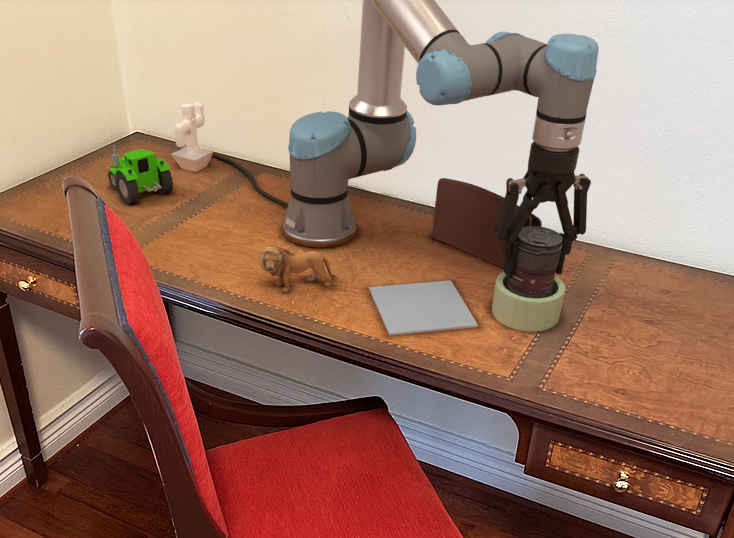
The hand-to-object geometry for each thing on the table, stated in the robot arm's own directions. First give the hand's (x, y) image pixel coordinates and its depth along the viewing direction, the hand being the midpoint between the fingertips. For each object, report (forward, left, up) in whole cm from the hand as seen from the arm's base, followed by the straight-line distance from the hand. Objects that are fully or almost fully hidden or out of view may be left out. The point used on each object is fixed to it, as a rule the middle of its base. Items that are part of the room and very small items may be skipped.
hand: (532, 272), depth 139 cm
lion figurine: (-16, -39, -8) cm, 43 cm away
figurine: (-77, -55, -8) cm, 95 cm away
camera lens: (0, 0, -8) cm, 8 cm away
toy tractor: (-64, -68, -8) cm, 94 cm away
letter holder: (-26, +1, -8) cm, 27 cm away
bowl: (0, 0, -8) cm, 8 cm away
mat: (-5, -18, -8) cm, 20 cm away
